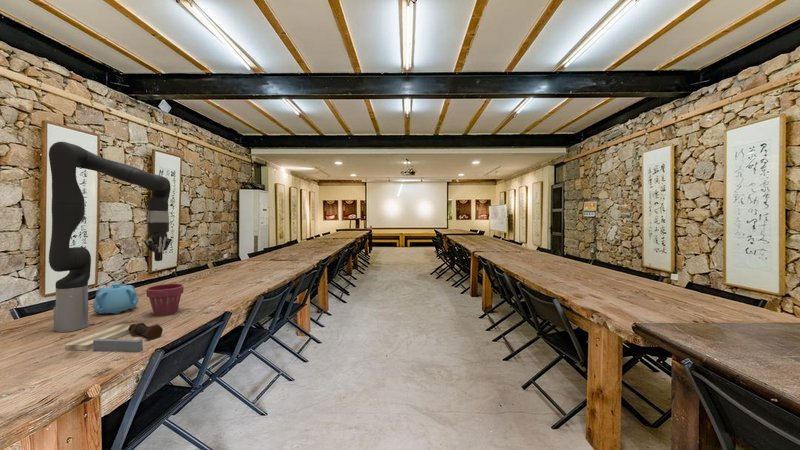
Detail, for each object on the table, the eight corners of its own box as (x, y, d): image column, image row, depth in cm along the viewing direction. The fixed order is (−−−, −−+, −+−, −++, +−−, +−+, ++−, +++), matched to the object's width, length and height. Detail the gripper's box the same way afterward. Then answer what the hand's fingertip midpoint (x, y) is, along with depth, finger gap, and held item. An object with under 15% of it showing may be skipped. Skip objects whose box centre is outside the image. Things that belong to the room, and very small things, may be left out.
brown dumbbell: (135, 336, 127) (157, 341, 121) (121, 333, 123) (144, 339, 117) (142, 321, 130) (165, 326, 124) (130, 318, 126) (152, 323, 120)
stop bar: (93, 350, 109) (93, 340, 109) (97, 348, 111) (97, 338, 111) (138, 351, 109) (138, 341, 109) (142, 349, 110) (142, 339, 110)
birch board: (65, 349, 109) (65, 344, 109) (117, 329, 129) (117, 325, 129) (87, 350, 109) (87, 345, 109) (137, 329, 129) (137, 325, 129)
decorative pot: (137, 312, 152) (137, 284, 152) (90, 318, 142) (90, 288, 142) (138, 305, 165) (139, 279, 165) (96, 309, 155) (96, 282, 155)
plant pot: (144, 319, 143) (144, 291, 142) (148, 311, 154) (148, 285, 154) (183, 314, 150) (183, 287, 150) (183, 307, 162) (183, 282, 162)
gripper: (161, 221, 145) (161, 258, 145) (137, 221, 132) (137, 262, 132) (177, 221, 145) (177, 259, 145) (154, 221, 132) (154, 263, 132)
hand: (158, 260), depth 139 cm, fingers closed
